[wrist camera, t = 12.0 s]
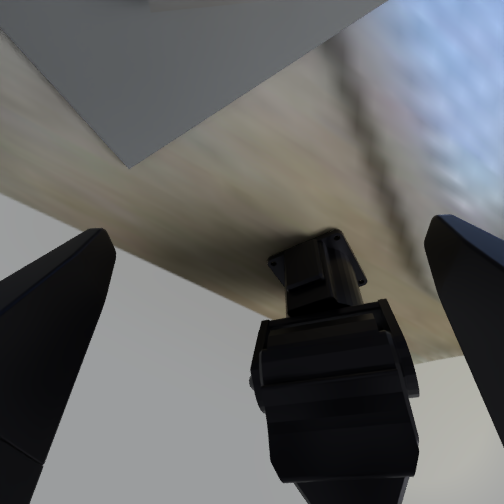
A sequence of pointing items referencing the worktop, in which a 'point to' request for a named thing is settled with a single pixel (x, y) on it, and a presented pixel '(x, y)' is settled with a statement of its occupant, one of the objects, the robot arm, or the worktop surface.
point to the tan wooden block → (191, 4)
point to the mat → (165, 58)
